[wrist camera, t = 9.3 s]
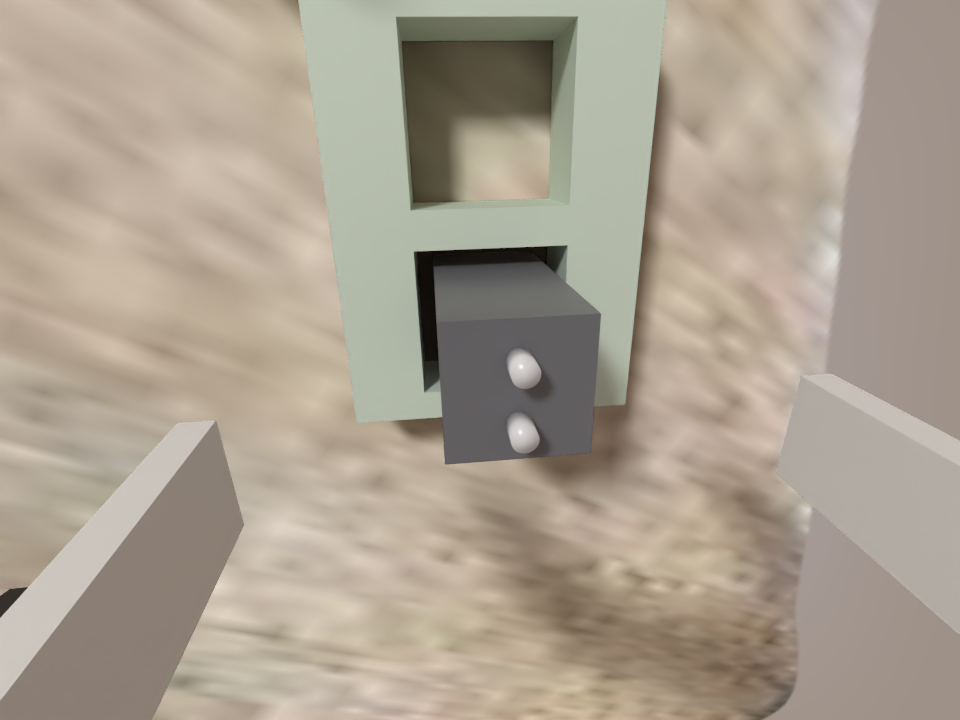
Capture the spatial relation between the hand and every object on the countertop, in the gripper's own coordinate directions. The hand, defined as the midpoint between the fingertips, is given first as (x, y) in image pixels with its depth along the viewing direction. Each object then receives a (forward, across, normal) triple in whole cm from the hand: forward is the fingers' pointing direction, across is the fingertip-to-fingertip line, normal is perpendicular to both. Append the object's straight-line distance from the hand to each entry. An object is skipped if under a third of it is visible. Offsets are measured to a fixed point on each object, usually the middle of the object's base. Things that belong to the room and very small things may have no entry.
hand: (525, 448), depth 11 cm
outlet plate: (+13, +1, +4) cm, 14 cm away
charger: (+13, +1, 0) cm, 13 cm away
